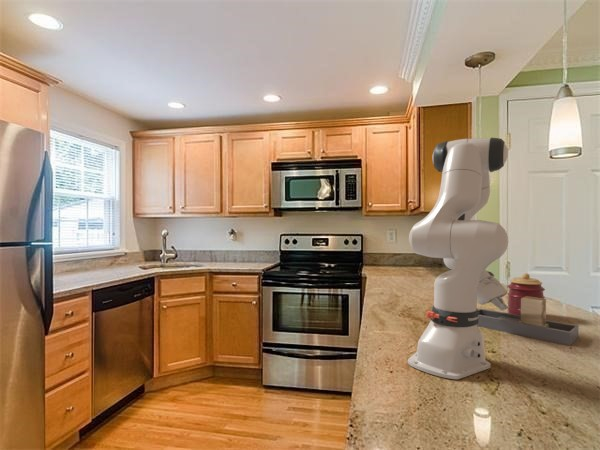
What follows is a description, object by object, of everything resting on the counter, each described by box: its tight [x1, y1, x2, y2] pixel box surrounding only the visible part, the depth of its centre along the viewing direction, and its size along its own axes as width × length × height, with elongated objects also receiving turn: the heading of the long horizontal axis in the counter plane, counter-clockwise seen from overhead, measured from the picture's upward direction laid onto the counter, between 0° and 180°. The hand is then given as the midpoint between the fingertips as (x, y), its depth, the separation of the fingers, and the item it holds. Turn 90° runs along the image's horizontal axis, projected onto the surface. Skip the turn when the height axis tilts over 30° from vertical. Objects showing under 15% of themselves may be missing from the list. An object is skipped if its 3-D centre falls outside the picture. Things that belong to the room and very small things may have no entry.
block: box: [521, 296, 547, 326], centre depth 122 cm, size 6×6×9 cm
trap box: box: [477, 307, 580, 346], centre depth 125 cm, size 12×32×4 cm, turn 42°
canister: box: [507, 272, 546, 315], centre depth 145 cm, size 13×13×18 cm
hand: (505, 309), depth 129 cm, fingers closed
